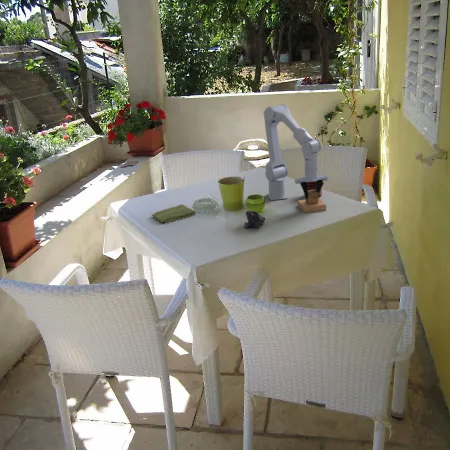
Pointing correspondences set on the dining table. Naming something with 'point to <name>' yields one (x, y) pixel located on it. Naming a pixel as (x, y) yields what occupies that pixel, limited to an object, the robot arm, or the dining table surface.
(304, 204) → the terracotta tile
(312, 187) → the canned food
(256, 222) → the frog
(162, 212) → the washcloth
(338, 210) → the dining table surface
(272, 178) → the robot arm
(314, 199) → the walnut block
